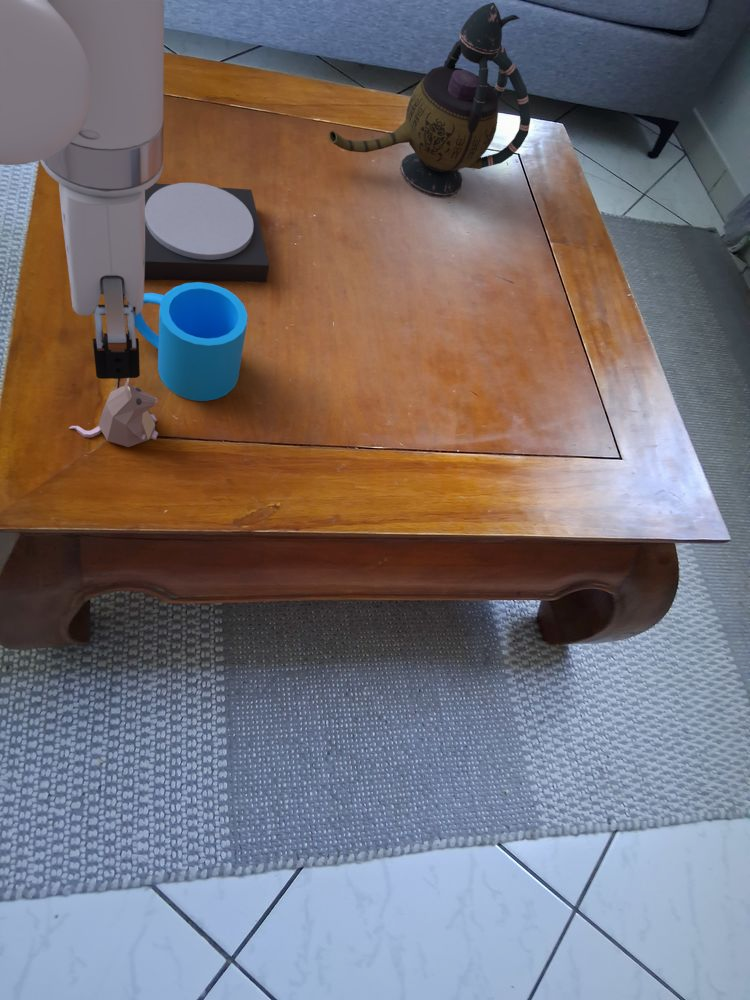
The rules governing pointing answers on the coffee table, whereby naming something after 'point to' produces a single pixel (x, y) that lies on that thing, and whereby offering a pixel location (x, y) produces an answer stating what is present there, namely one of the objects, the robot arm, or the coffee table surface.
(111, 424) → the mouse figurine
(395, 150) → the coffee table surface
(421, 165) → the teapot
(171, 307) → the mug
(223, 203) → the kitchen scale
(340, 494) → the coffee table surface
